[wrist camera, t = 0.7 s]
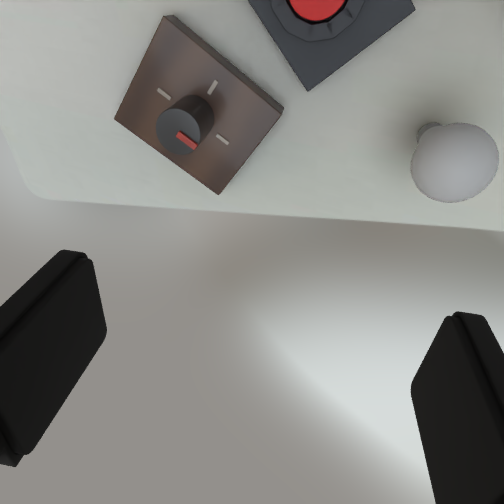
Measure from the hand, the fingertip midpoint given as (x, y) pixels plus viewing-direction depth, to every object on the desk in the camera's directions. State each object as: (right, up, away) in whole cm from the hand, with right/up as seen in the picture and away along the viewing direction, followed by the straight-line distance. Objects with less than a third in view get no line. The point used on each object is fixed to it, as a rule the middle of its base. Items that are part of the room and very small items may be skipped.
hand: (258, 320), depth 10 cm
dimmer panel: (-5, +16, +28) cm, 33 cm away
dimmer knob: (-6, +15, +26) cm, 30 cm away
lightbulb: (+17, +13, +26) cm, 34 cm away
